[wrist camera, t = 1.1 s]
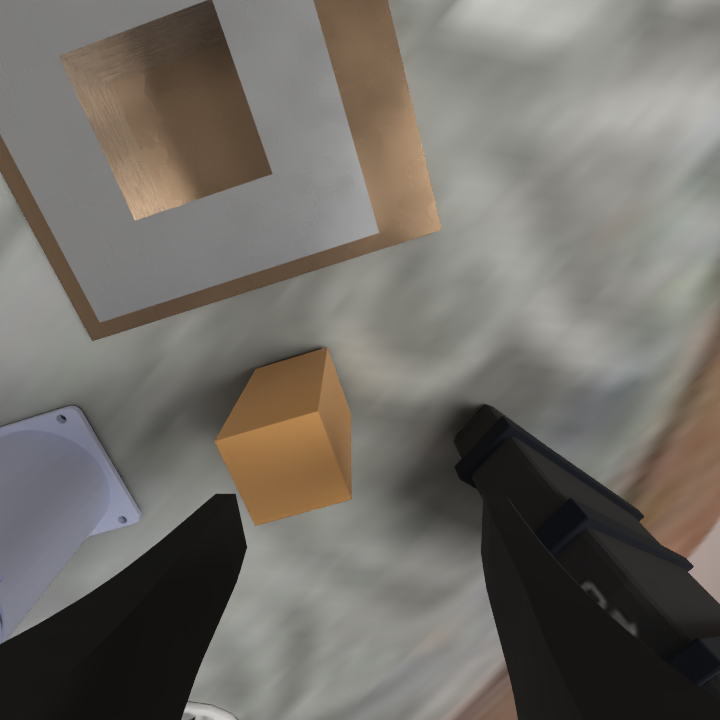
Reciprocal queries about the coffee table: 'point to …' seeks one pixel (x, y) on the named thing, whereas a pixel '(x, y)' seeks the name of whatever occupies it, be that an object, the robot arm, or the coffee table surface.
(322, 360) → the orange rectangular block
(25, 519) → the robot arm
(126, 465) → the coffee table surface
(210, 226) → the socket
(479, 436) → the black ridged slab
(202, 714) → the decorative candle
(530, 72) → the coffee table surface
